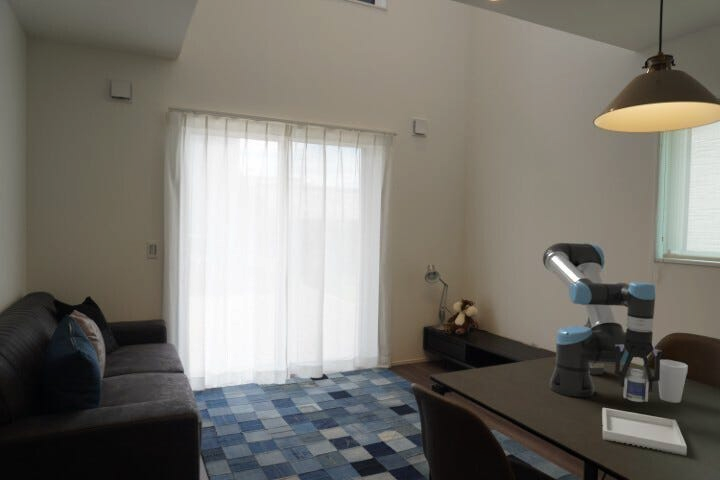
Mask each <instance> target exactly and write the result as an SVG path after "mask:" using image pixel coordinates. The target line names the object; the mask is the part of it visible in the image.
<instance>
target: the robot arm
mask: <svg viewBox="0 0 720 480" xmlns="http://www.w3.org/2000/svg"><path fill="white" fill-rule="evenodd" d="M542 263H543V265H544V267H545V269H546V270H547V271H549V272H550V273H552V274H554V275H556V277H558V279H559V280H560V281H561V282H562V283H563V284H564V285H565V287H567V288H568V296H569V298H570V302H571V303H573V304H574V305H582V306H585V309H586V312H587V317H588V316H589V319H590V322H591V326H592V327H591V328H588V327H584V325H583V326H580V325H571V326H563V327H561V328H559V329H558V331H557V334H556V335H557V336H556V340H555V342H556V345H555V346H556V348H555V367H554V369H553V373H552V374H551V375H552V376H551V378H550V381H549V388H550V389H551V391H554V392H555V393H557V394H560V395H564V396H569V397H576V398H587V397H588V398H589V397H593V396H594V395H595V386H594V381H593V378H592V375H590V363H597V364H604V365H615V366H614V374H615V375H616V376H619V377H620V379H619V385H620V387H622V388H623V393H622V394H623V398H624V399H627V398H626V394H627V377H628V376H627V373H628V371H629V368H630V365H631V363H632V360H633V359H634V358H640V359H643V364H644V368H645V372H646V376H647V379H646V378H645V380H646V386H645V400H644V402H648V401H649V392H652V391H653V383H654V382H658V381H659V380H660V360H661V357H662V355H663V351H662V350H661V349H657V348H654V346H653V329H654V316H655V304H656V297H657V296H656V286H655V284H653V283H650V282H645V281H631V282H630V283H629V284H628V283H626V282H615V283H604V282H603V280H602V278H601V275H600V274H601V273H602V272H603V269H604V267H605V254H604V251H603V250H602V248H601V247H600V246H599V245H598V244H595V243H589V242H585V243H571V242H557V243H554V244H552V245H550V246H548V248H546V250H545V251H544V253H543V255H542ZM611 306H617V307H618V306H619V307H621V306H622V307H626V308H627V314H626V316H627V317H626V327H627V328H626V331H625V332H624V328H623V325H622V324H621V323H619V322H617V321H616V319H615V316H614V312H613V309H612V307H611ZM652 352H653V355H654V375H652V371H651V367H650V363H649V360H648V356H649V355H650V354H651V353H652ZM621 365H623V368H622V369H621V370H620V367H621Z"/></svg>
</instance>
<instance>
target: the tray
mask: <svg viewBox="0 0 720 480" xmlns="http://www.w3.org/2000/svg"><path fill="white" fill-rule="evenodd" d="M601 417H602V419H601V422H602V425H603V426H602V440H603V441H604V440H605V441H610V442H614V441H615V442H616V443H619V442H620V443H621V444H624V443H626V444H625V445H629V444H632V445H631V446H635V445H637V446H636V447H640V446H642V447H641V448H645V447H647V448H646V449H650V448H652V450H655V449H657V451H660V450H661V452H665V453H670V452H671V454H676V455H681V456H687V451H688V450H687V449H688V447H687V444H686V441H685V439H684V437H683V434H682V432H681V429H680V426H679V424H678V423H677V420H676V419H672V418H671V419H670V418H666V417H665V418H664V417H659V416H653V415H649V414H642V413H638V412H631V411H624V410H619V409H615V408H614V409H613V408H608V407H607V408H606V407H602V411H601ZM615 442H614V443H615Z"/></svg>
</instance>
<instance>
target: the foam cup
mask: <svg viewBox="0 0 720 480" xmlns="http://www.w3.org/2000/svg"><path fill="white" fill-rule="evenodd" d="M688 367H689V366H688V364H686V363H684V362H681V361H676V360H671V359H660V380H659V381H657V382H658V383H657V384H658V392H659V399H660V400H662V401H665V402H668V403H673V404H674V403H675V404H677V403H678V404H679V403H681V401H682V396H683V393H684V392H683V391H684V387H685V382H686V378H687V374H688V369H689V368H688Z"/></svg>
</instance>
